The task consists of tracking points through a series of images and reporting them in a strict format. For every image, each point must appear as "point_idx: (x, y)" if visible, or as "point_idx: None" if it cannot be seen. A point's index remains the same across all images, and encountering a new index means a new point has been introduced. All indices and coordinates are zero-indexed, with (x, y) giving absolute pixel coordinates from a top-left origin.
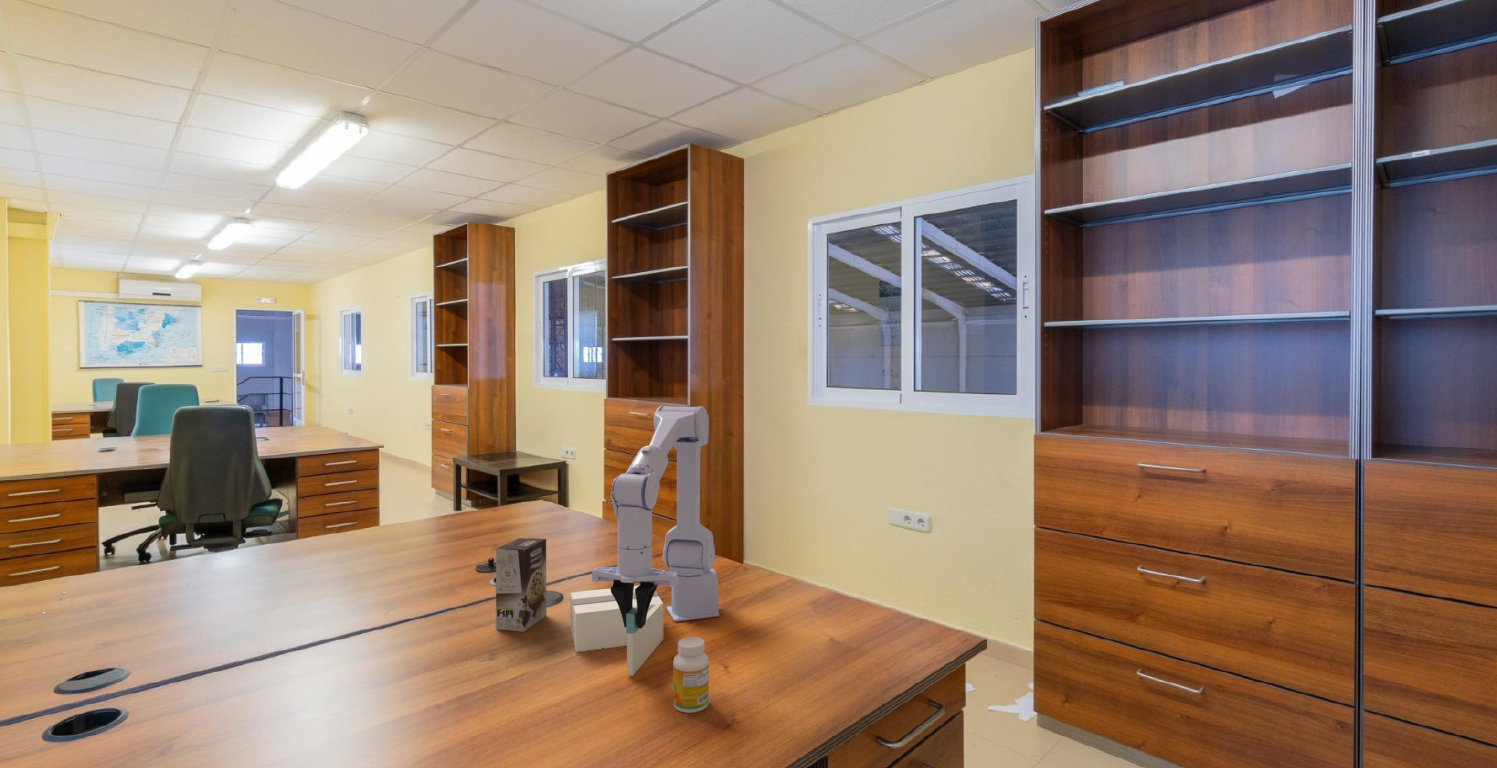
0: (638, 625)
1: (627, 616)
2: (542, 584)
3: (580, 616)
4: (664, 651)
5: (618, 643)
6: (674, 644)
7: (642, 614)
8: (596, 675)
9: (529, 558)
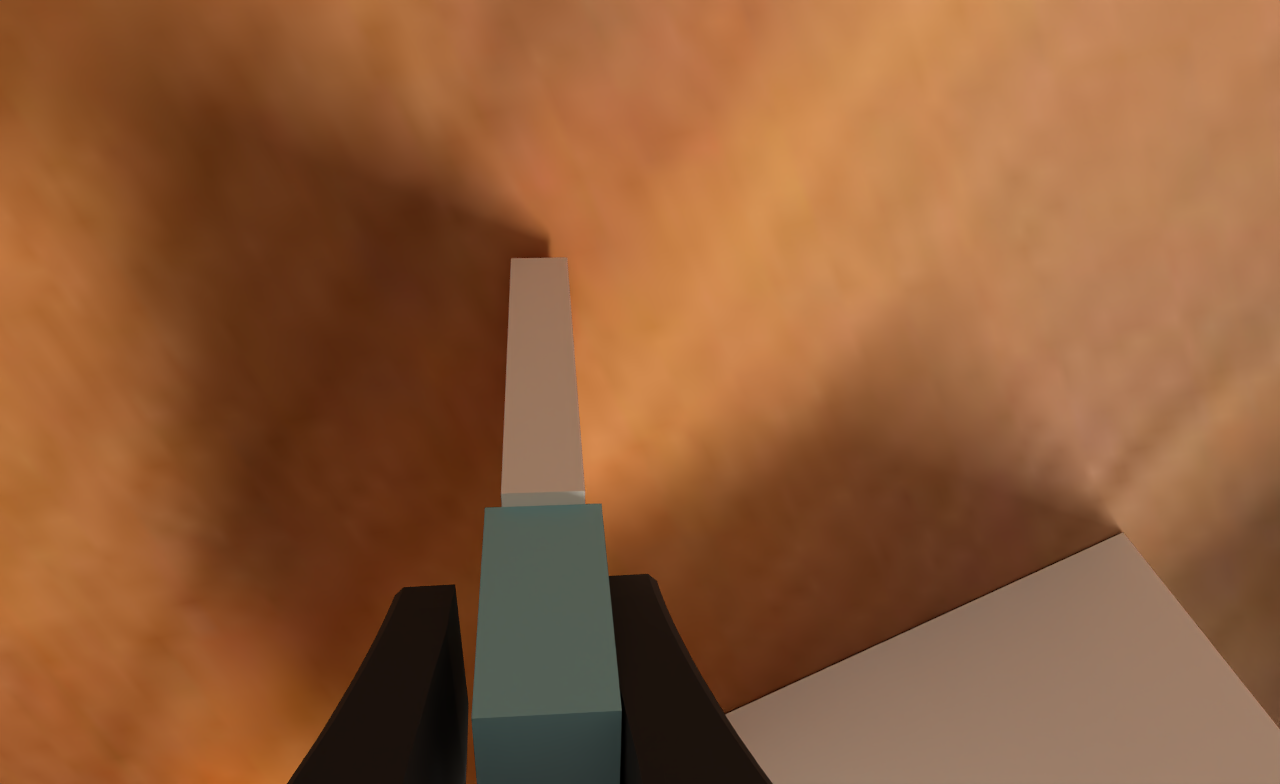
0: (430, 608)
1: (596, 676)
2: None
3: (1259, 781)
4: None
5: (831, 687)
6: None
7: (318, 742)
8: (850, 224)
9: None
